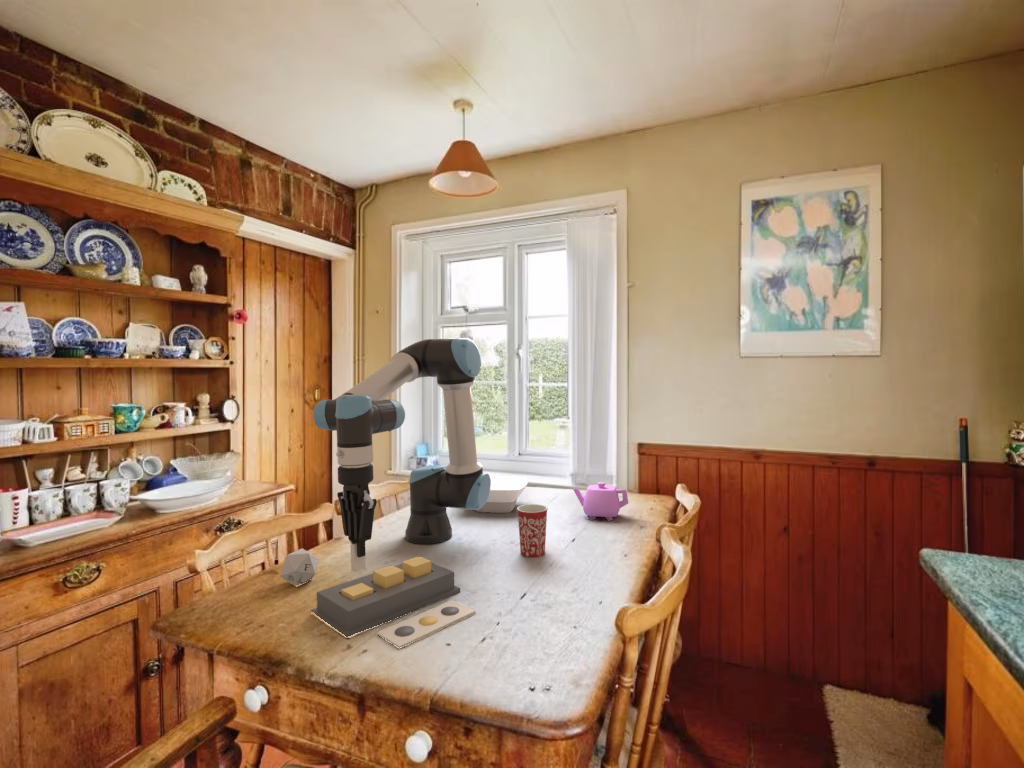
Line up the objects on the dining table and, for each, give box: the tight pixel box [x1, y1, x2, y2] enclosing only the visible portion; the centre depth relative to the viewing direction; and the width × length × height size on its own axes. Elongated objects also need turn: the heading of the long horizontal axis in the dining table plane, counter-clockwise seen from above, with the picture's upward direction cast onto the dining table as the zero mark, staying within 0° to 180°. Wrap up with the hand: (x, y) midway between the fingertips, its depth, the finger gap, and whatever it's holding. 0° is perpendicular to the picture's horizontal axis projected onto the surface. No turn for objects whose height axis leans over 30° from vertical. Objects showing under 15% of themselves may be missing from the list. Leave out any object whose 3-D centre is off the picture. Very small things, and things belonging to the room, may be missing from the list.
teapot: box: [573, 481, 629, 521], centre depth 188 cm, size 20×12×13 cm, turn 75°
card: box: [376, 599, 477, 648], centre depth 108 cm, size 8×20×1 cm, turn 137°
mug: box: [516, 503, 549, 558], centre depth 152 cm, size 13×9×14 cm
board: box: [310, 562, 461, 637], centre depth 119 cm, size 16×30×5 cm, turn 137°
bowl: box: [476, 476, 528, 514], centre depth 202 cm, size 24×25×10 cm
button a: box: [341, 583, 374, 601], centre depth 113 cm, size 5×5×4 cm
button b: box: [372, 564, 404, 589], centre depth 119 cm, size 5×5×4 cm
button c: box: [401, 556, 432, 578], centre depth 124 cm, size 5×5×4 cm
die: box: [279, 547, 320, 586], centre depth 131 cm, size 8×9×10 cm
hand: (358, 569), depth 113 cm, fingers closed
